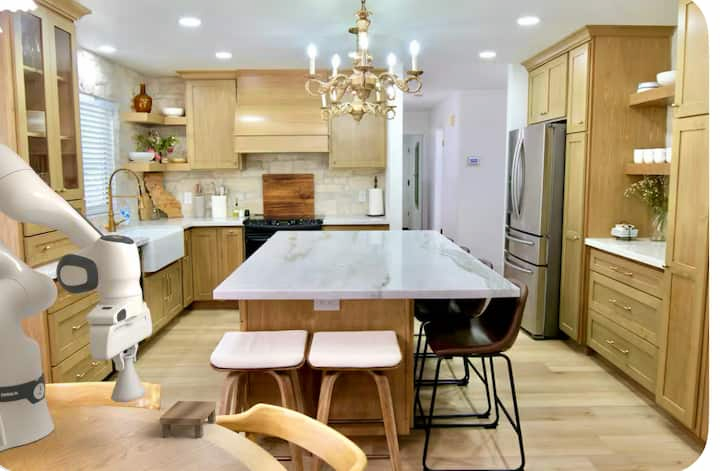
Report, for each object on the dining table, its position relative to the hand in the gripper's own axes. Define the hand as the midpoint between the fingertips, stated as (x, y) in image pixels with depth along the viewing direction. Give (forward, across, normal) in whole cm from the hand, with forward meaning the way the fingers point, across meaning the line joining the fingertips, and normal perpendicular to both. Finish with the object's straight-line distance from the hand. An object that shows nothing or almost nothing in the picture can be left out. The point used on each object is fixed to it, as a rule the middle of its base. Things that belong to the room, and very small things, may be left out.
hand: (126, 366), depth 125 cm
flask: (+8, 0, 0) cm, 8 cm away
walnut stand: (+19, -9, +10) cm, 23 cm away
